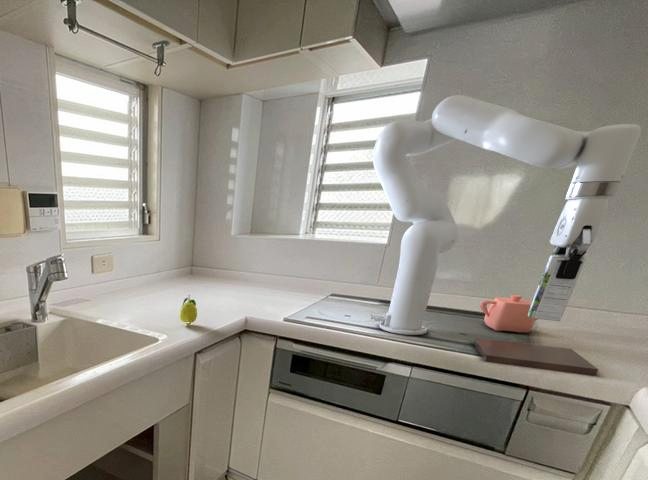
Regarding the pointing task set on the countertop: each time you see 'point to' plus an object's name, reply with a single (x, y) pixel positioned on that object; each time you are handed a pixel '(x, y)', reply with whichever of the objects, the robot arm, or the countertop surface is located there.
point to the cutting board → (534, 356)
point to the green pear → (188, 311)
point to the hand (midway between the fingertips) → (559, 275)
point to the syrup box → (552, 292)
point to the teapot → (508, 314)
